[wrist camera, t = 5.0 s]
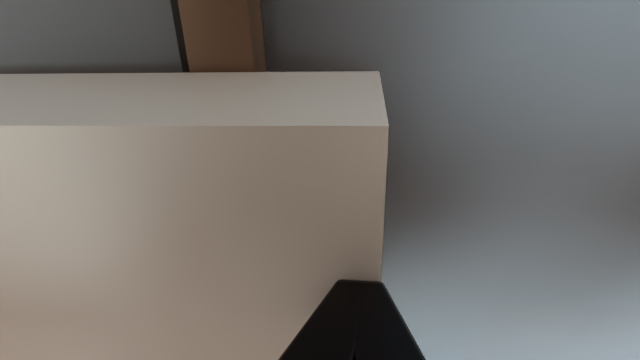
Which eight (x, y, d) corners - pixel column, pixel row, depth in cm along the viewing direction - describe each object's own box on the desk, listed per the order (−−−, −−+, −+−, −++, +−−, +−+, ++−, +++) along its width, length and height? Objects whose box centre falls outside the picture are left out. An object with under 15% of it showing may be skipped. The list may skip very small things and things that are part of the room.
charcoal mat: (154, -154, 8) (142, -158, 7) (239, 363, 14) (236, 377, 14) (-372, -132, 8) (-412, -135, 8) (-64, 352, 15) (-77, 365, 14)
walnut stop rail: (244, -196, 7) (225, -215, 6) (292, 376, 14) (287, 411, 13) (171, -192, 7) (141, -211, 6) (254, 374, 14) (246, 410, 13)
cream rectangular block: (388, 126, 6) (-187, 125, 6) (374, 415, 9) (-20, 398, 9) (378, 68, 8) (-44, 72, 9) (369, 313, 11) (54, 304, 12)
